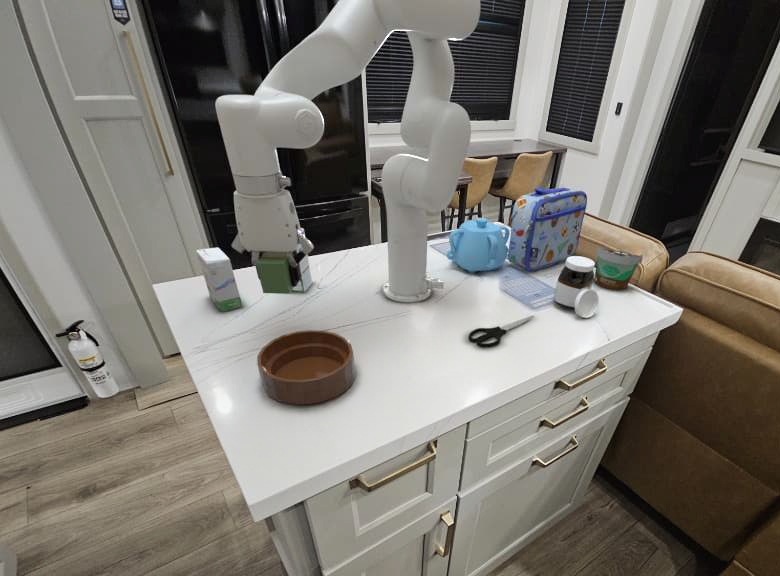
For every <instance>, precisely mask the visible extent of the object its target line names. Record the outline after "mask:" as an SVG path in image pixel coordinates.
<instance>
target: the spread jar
mask: <svg viewBox="0 0 780 576" xmlns="http://www.w3.org/2000/svg"><path fill="white" fill-rule="evenodd" d="M595 265H596V263H595V261H594V260H592V259H591V258H588V257H585V256H582V255H581V256H580V255H572V256H570V257H568V258H567V259H565V266H564V267H563V268H562V269H561V271H560V273H559V276H558V278H557V281H556V286H555V289H554V295H553V302H554V304H555V305H556V306H558V308H561V309H563V310H565V311H571V312H572V311H574V312H575V314H576V315H577V316H578V317H580V318H582V319H583V318H585V319H589V318H591V317H593V316H594V314H595V313H596V312H597V310H598V308H599V302H600V301H599V300H600V298H599V295H598V293H597V292H596V291H595V290H594V289H592V287H593V283H594V277H595V272H594V269H595Z"/></svg>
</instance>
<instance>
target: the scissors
mask: <svg viewBox="0 0 780 576" xmlns="http://www.w3.org/2000/svg"><path fill="white" fill-rule="evenodd" d="M533 318H534V315H530V316H527V317H523V318H521V319H518V320H516V321H513V322H510V323H508V324H506V325H504V326H502V327H500V326H499V325H497V326H495V327H479V328H476V329H473V330H472V331H470V333H469V334H468V337H467V338H468V342H470V343H476V346H477V347H478V348H484V349H485V348H492V347H496V346H498V345H499V344H500V343H501V339H502V337H503V336H504V335H505V334H507V331H509V330H511V329H514V328H516V327H517V326H520V325H522V324H523V323H525V322H526V323H527V321H529V320H531V319H533ZM479 333H484V334H481V335H478V337H475V338H474V337H473V336H474V335H476V334H479ZM493 338H495V339H496V340H494V341H492V342H487V341H489V340H490V339H493ZM486 342H487V343H486Z"/></svg>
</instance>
